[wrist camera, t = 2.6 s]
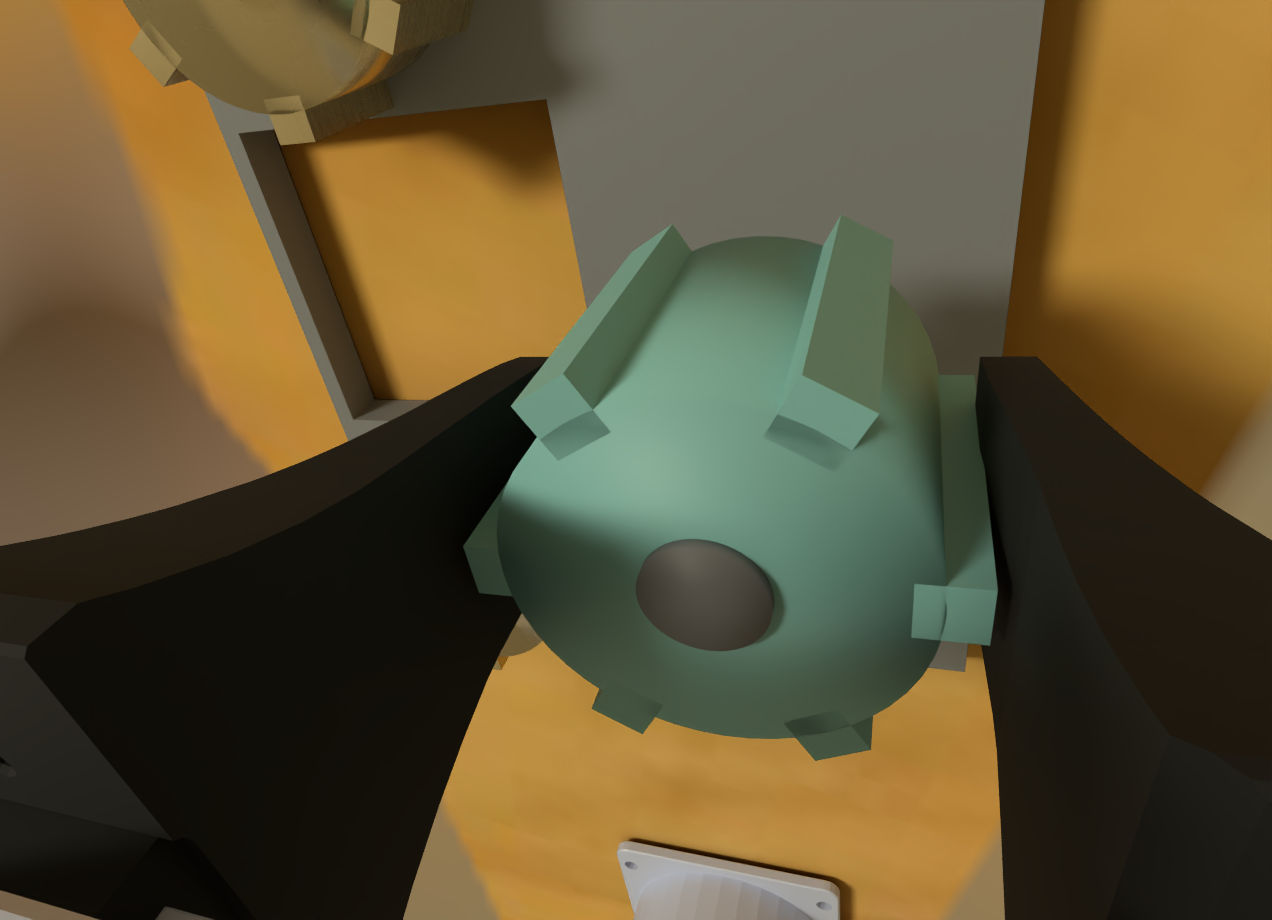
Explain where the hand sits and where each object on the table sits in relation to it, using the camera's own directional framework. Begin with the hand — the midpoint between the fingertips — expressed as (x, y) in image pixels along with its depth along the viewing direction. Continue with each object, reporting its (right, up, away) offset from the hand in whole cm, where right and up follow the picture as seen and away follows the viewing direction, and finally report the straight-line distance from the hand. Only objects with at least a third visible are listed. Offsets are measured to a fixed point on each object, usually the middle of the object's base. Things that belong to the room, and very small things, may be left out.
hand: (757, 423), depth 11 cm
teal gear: (0, 0, +1) cm, 1 cm away
